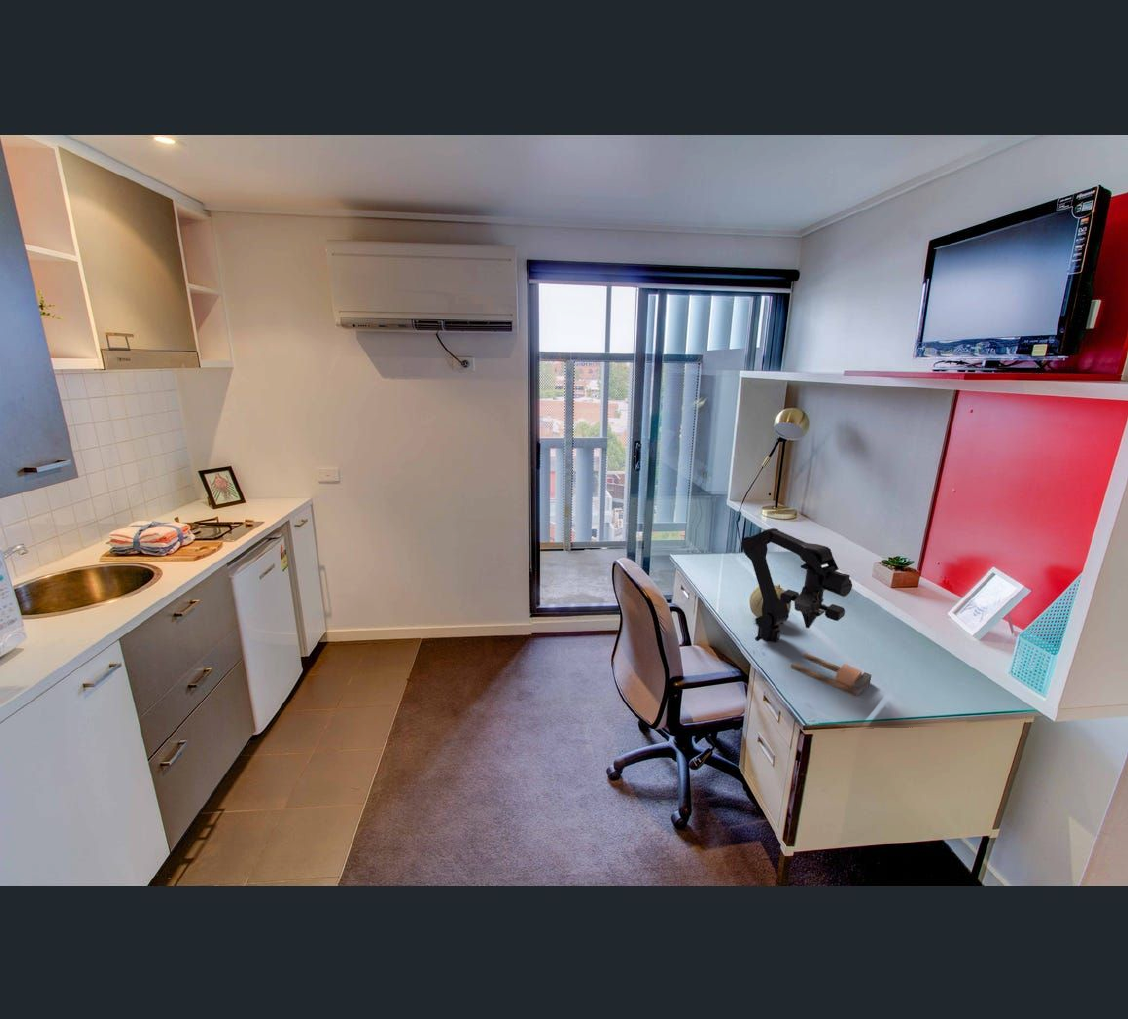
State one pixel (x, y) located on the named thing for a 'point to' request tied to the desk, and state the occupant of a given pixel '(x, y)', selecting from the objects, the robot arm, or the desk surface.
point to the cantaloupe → (757, 600)
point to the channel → (856, 687)
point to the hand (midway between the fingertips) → (807, 627)
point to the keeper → (848, 675)
